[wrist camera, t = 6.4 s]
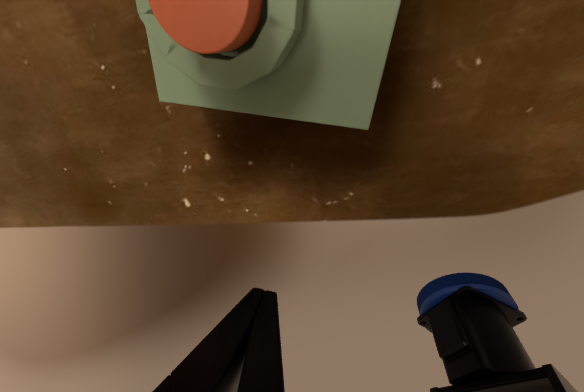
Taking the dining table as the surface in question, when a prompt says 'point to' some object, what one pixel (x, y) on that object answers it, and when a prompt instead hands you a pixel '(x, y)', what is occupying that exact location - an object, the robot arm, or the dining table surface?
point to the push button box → (285, 62)
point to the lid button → (208, 22)
